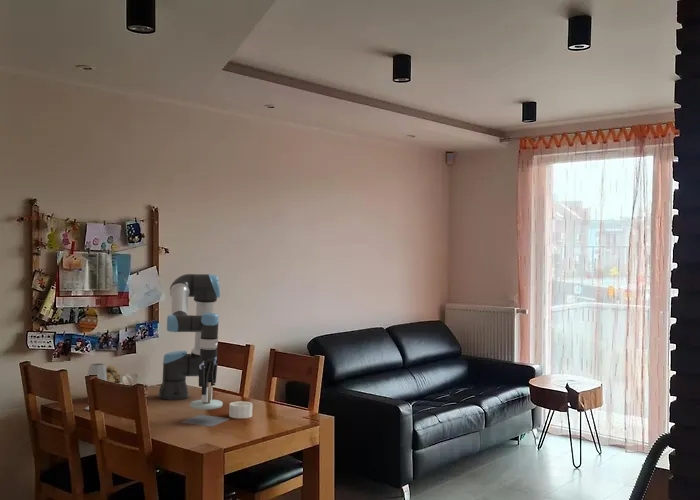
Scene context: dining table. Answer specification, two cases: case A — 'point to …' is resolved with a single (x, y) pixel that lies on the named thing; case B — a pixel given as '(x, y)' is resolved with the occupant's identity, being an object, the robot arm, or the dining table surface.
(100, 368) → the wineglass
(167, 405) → the dining table surface
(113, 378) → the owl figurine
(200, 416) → the mat
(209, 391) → the lid
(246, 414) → the bowl
